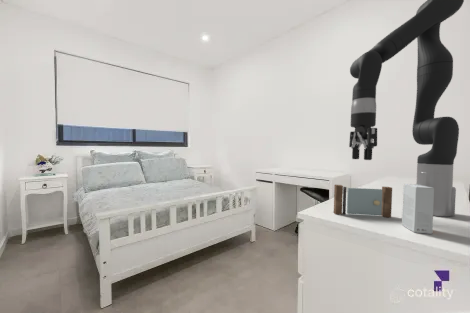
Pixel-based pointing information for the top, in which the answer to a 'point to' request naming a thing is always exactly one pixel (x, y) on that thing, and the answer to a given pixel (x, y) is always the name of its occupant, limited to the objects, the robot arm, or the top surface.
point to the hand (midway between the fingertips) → (361, 159)
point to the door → (364, 201)
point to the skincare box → (418, 208)
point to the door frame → (341, 193)
